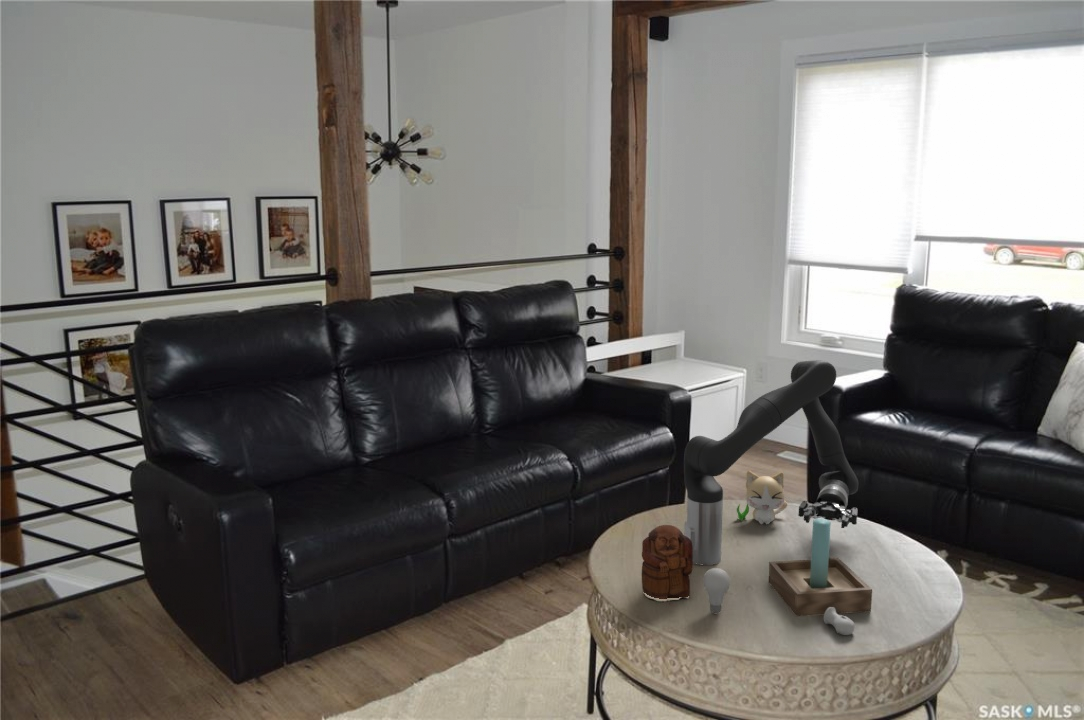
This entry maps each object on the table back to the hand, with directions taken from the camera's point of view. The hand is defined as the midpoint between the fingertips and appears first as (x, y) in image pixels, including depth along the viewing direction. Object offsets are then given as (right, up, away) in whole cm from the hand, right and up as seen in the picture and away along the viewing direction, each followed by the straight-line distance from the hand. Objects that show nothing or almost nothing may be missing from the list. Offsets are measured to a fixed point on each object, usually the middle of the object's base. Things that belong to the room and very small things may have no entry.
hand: (825, 521), depth 221 cm
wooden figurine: (-40, -17, -6) cm, 44 cm away
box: (-4, -17, -7) cm, 19 cm away
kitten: (-5, -7, +41) cm, 42 cm away
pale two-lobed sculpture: (-4, -20, -22) cm, 31 cm away
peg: (-4, -17, -7) cm, 19 cm away
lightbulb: (-30, -19, -15) cm, 38 cm away
